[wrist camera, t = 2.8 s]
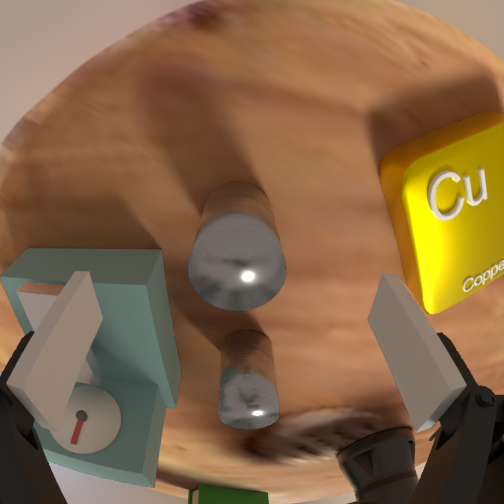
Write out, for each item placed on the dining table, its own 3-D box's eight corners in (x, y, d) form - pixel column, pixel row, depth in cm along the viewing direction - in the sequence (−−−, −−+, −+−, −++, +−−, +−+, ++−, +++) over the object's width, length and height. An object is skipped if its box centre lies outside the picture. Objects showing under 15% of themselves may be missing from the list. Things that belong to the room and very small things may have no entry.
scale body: (181, 371, 31) (166, 489, 19) (71, 358, 30) (32, 455, 18) (161, 249, 24) (104, 397, 11) (27, 248, 23) (-59, 348, 11)
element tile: (406, 295, 28) (427, 326, 24) (369, 155, 21) (398, 172, 17) (509, 236, 25) (534, 257, 21) (495, 105, 18) (531, 114, 14)
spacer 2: (270, 363, 31) (276, 428, 24) (222, 363, 30) (219, 429, 23) (273, 329, 28) (283, 399, 21) (220, 329, 28) (216, 400, 21)
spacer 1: (269, 244, 24) (281, 310, 17) (205, 243, 24) (191, 310, 17) (273, 182, 21) (290, 228, 14) (203, 181, 21) (184, 227, 14)
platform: (108, 359, 23) (99, 385, 20) (70, 353, 23) (59, 378, 20) (78, 270, 19) (59, 296, 16) (36, 268, 18) (16, 291, 16)
